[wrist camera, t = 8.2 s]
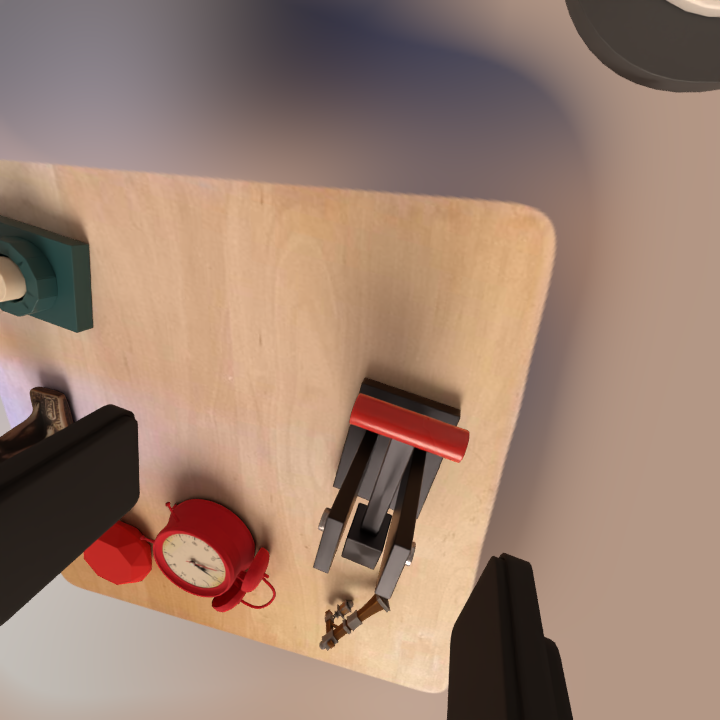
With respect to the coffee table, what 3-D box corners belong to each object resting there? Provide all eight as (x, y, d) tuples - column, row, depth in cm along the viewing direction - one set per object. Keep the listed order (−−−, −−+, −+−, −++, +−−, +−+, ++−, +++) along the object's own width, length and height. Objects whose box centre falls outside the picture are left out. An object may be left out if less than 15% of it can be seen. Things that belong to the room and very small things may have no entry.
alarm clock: (164, 496, 37) (264, 622, 35) (212, 467, 43) (302, 574, 40) (127, 546, 42) (214, 661, 39) (176, 514, 47) (254, 613, 45)
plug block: (-5, 213, 35) (-51, 213, 32) (89, 244, 33) (49, 247, 30) (8, 297, 38) (-34, 305, 35) (93, 328, 37) (58, 339, 34)
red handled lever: (365, 379, 18) (348, 416, 16) (472, 416, 17) (466, 459, 15) (333, 514, 26) (320, 548, 24) (403, 542, 26) (395, 579, 24)
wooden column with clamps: (315, 612, 42) (314, 648, 38) (374, 569, 42) (380, 599, 38) (325, 624, 42) (325, 661, 38) (383, 580, 42) (390, 612, 38)
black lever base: (365, 377, 31) (314, 463, 21) (460, 409, 30) (458, 518, 20) (336, 478, 36) (282, 591, 25) (418, 510, 35) (398, 642, 24)
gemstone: (111, 565, 51) (91, 585, 48) (87, 510, 48) (64, 528, 45) (167, 574, 48) (149, 596, 45) (145, 516, 45) (125, 536, 42)
